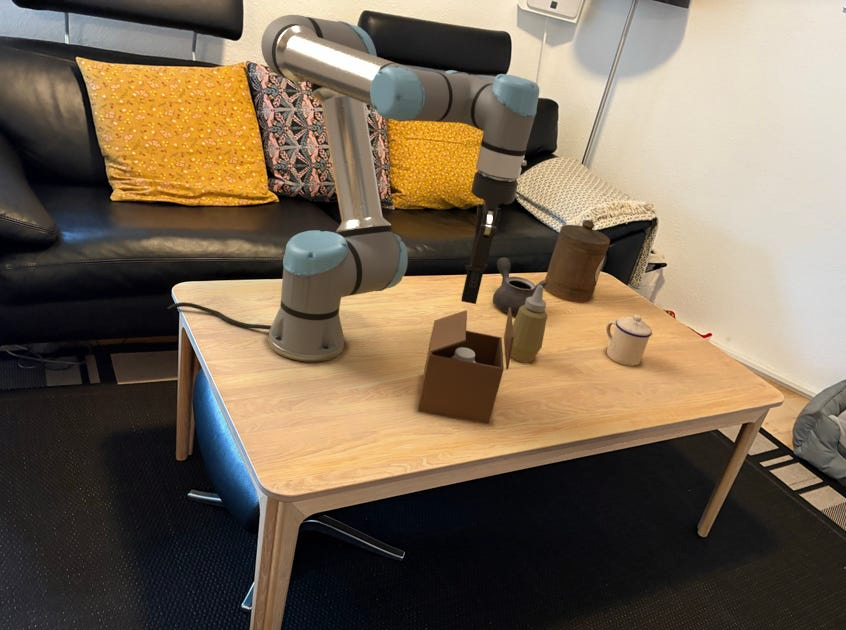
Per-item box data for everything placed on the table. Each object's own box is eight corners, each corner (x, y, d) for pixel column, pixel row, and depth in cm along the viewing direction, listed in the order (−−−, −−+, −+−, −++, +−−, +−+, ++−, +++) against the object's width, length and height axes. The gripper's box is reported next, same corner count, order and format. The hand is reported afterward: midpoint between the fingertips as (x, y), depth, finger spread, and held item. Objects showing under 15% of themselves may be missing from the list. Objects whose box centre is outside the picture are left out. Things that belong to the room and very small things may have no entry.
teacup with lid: (647, 363, 169) (663, 322, 163) (625, 369, 163) (640, 327, 158) (612, 340, 176) (626, 300, 171) (589, 345, 171) (603, 304, 165)
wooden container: (600, 303, 198) (624, 232, 187) (557, 301, 191) (578, 228, 181) (577, 281, 209) (598, 214, 199) (535, 279, 203) (554, 209, 193)
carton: (417, 411, 128) (436, 321, 119) (422, 376, 140) (439, 293, 131) (493, 424, 130) (517, 337, 121) (492, 389, 141) (513, 307, 132)
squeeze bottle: (535, 368, 154) (556, 297, 145) (501, 359, 154) (520, 287, 146) (539, 353, 161) (559, 285, 152) (506, 344, 161) (525, 275, 153)
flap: (430, 352, 122) (430, 350, 122) (434, 322, 134) (434, 320, 133) (465, 341, 121) (465, 339, 121) (467, 311, 132) (466, 309, 132)
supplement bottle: (472, 403, 134) (483, 359, 129) (446, 404, 132) (456, 359, 127) (463, 388, 138) (473, 345, 133) (437, 388, 136) (447, 344, 131)
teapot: (553, 316, 182) (564, 282, 177) (509, 321, 173) (518, 286, 168) (512, 286, 194) (521, 254, 190) (469, 289, 185) (477, 255, 181)
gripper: (521, 189, 108) (488, 320, 119) (517, 170, 119) (488, 291, 130) (475, 179, 107) (447, 312, 118) (475, 161, 119) (450, 283, 130)
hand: (468, 301), depth 124 cm, fingers closed
